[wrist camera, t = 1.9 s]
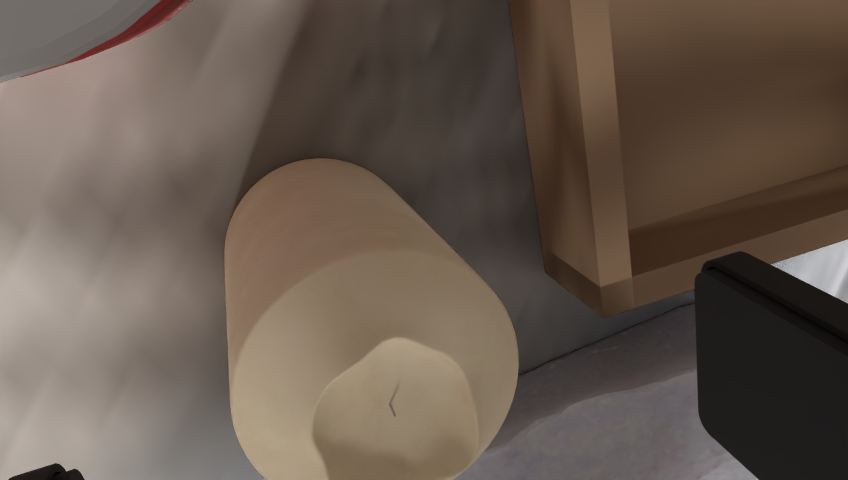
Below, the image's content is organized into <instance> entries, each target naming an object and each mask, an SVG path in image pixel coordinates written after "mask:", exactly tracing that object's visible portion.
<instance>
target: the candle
mask: <svg viewBox="0 0 848 480" xmlns="http://www.w3.org/2000/svg"><path fill="white" fill-rule="evenodd" d="M224 264H225V292H226V316H227V341H228V366H229V390H230V408H231V415H232V421H233V426H234V429H235V432H236V435H237V438H238V441H239V443H240V445H241V447H242V449H243V451H244V453H245V455H246V457H247V458H248V459H249V461H250V462H251V463H252V465H253V466H254V467H255V469H256V470H257V471H258V472H259V473H260V474H261V475H262V476H263V477H264V478H265V479H266V480H453V479H455V478H456V477H457V476H459V475H460V474H461V473H463V472H464V471H465V470H466V469H467V468H469V467H470V466H471V465H472V463H473V462H474V461H476V460H477V459H478V457H479V456H480V455H481V454H482V453H483V452H484V450H485V449H486V448H487V447H488V446H489V444H490V443H491V441H492V440H493V439H494V437H495V436H496V434H497V433H498V431H499V429H500V427H501V426H502V424H503V422H504V420H505V418H506V416H507V414H508V411H509V409H510V406H511V403H512V401H513V397H514V393H515V389H516V385H517V378H518V370H519V353H518V346H517V339H516V335H515V331H514V328H513V325H512V321H511V319H510V317H509V315H508V313H507V311H506V309H505V307H504V305H503V304H502V302H501V301H500V299H499V298H498V296H497V295H496V293H495V292H494V291H493V290H492V289H491V288H490V287H489V286H488V284H487V283H486V282H485V281H484V280H483V279H482V278H481V277H480V276H479V275H478V274H477V273H476V272H475V271H474V270H473V269H472V268H471V267H470V266H469V265H468V264H467V263H466V262H465V261H464V260H463V259H462V258H461V257H460V256H459V255H458V254H457V253H456V252H455V251H454V250H453V249H452V248H451V247H450V246H449V245H448V244H447V243H446V242H445V241H444V240H443V239H442V238H441V237H440V236H439V235H438V234H437V233H436V232H435V231H434V230H433V229H432V228H431V227H430V226H429V225H428V224H427V223H426V222H425V221H424V220H423V219H422V218H421V217H420V216H419V215H418V214H417V213H416V212H415V211H414V210H413V209H412V208H411V207H410V206H409V205H408V204H407V203H406V202H405V201H404V200H403V199H402V198H401V197H400V196H399V195H398V194H397V193H396V192H395V191H394V190H393V189H392V188H391V187H390V186H389V185H387V184H386V183H385V182H384V181H383V180H381V179H380V178H379V177H378V176H377V175H375V174H373V173H372V172H370V171H369V170H367V169H365V168H363V167H360V166H358V165H356V164H353V163H349V162H346V161H342V160H336V159H329V158H314V159H305V160H300V161H296V162H292V163H290V164H287V165H284V166H282V167H279V168H278V169H276V170H274V171H272V172H270V173H269V174H267V175H266V176H264V177H263V178H262V179H260V180H259V181H258V182H257V183H256V184H255V185H254V186H253V187H251V188H250V190H249V191H248V192H247V193H246V194H245V196H244V197H243V198H242V200H241V201H240V203H239V204H238V206H237V208H236V209H235V211H234V213H233V216H232V218H231V220H230V223H229V226H228V230H227V233H226V240H225V252H224Z"/></svg>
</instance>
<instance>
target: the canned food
mask: <svg viewBox="0 0 848 480" xmlns="http://www.w3.org/2000/svg"><path fill="white" fill-rule="evenodd" d="M191 1H193V0H0V83H1V82H4V81H8V80H11V79H14V78H18V77H24V76H27V75H31V74H34V73H37V72H41V71H44V70H48V69H51V68H54V67H58V66H61V65H64V64H68V63H71V62H74V61H78V60H81V59H84V58H86V57H89V56H91V55H94V54H96V53H99V52H101V51H104V50H106V49H109V48H111V47H114V46H116V45H119V44H121V43H124V42H126V41H129V40H131V39H134V38H136V37H139V36H141V35H143V34H145V33H147V32H148V31H150V30H152V29H154V28H156V27H158V26H160V25H161V24H163V23H165V22H167V21H169V20H170V19H171V18H172V17H174V16H175V15H176V14H177V13H178V12H180V11H181V10H182V9H183V8H184V7H186V6H187V5H188V4H189V3H190V2H191Z"/></svg>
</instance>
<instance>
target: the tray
mask: <svg viewBox="0 0 848 480" xmlns="http://www.w3.org/2000/svg"><path fill="white" fill-rule="evenodd" d="M508 2H509V9H510V16H511V24H512V31H513V38H514V46H515V53H516V60H517V68H518V75H519V82H520V90H521V97H522V105H523V112H524V119H525V127H526V134H527V141H528V149H529V156H530V163H531V171H532V178H533V185H534V193H535V200H536V207H537V215H538V222H539V229H540V237H541V244H542V252H543V259H544V266H545V272H546V273H547V274H548V275H549V276H551V277H552V278H553V279H554V280H556V281H557V282H558V283H559V284H561V285H562V286H563V287H565V288H566V289H567V290H568V291H570V292H571V293H572V294H573V295H575V296H576V297H577V298H578V299H580V300H581V301H582V302H584V303H585V304H586V305H587V306H589V307H590V308H591V309H592V310H594V311H595V312H596V313H597V314H599V315H600V316H601V317H602V318H606V317H609V316H612V315H615V314H619V313H622V312H625V311H628V310H631V309H634V308H637V307H640V306H643V305H646V304H649V303H652V302H656V301H659V300H662V299H665V298H668V297H671V296H674V295H677V294H680V293H683V292H686V291H690V290H693V289H695V288H694V283H695V278H696V275H697V274H699V273H701V269H702V266H703V264H704V263H705V262H706V261H709V260H712V259H715V258H718V257H721V256H725V255H728V254H731V253H734V252H739V251H742V252H746V253H748V254H750V255H752V256H754V257H756V258H758V259H760V260H762V261H764V262H766V263H768V264H773V263H776V262H779V261H782V260H785V259H788V258H791V257H794V256H797V255H801V254H804V253H807V252H810V251H813V250H816V249H819V248H822V247H825V246H828V245H831V244H835V243H838V242H841V241H844V240H847V239H848V0H508Z"/></svg>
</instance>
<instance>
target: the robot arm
mask: <svg viewBox="0 0 848 480" xmlns="http://www.w3.org/2000/svg"><path fill="white" fill-rule="evenodd" d="M694 288H695V322H696V355H697V389H698V413H699V417H700V421H701V423H702V425H703V427H704V428H705V430H706V431H707V433H708V434H709V435H710V436H711V437H712V438H713V439H715V440H716V441H717V442H718V443H719V444H720V445H721V446H722V447H723V448H724V449H726V450H727V451H728V452H729V453H730V454H731V455H732V456H733V457H734V458H735V459H737V460H738V461H739V462H740V463H741V464H742V465H743V466H744V467H745V468H746V469H748V470H749V471H750V472H751V473H752V474H753V475H754V476H755V477H756V478H757V479H759V480H848V304H847V303H845V302H844V301H842V300H840V299H838V298H836V297H834V296H832V295H830V294H828V293H826V292H824V291H822V290H820V289H818V288H816V287H814V286H812V285H810V284H808V283H806V282H804V281H802V280H800V279H798V278H796V277H794V276H792V275H790V274H788V273H786V272H784V271H782V270H780V269H778V268H776V267H774V266H772V265H770V264H768V263H766V262H764V261H762V260H760V259H758V258H756V257H754V256H752V255H750V254H748V253H746V252H742V251H739V252H734V253H731V254H728V255H725V256H721V257H718V258H715V259H712V260H709V261H706V262H705V263H704V264H703V266H702V269H701V273H699V274H697V275H696V278H695V283H694ZM9 480H84V478H83V476H82V474H81V473H80V472H79V471H78V470H77V469H73V470H70V471H67V472H66V471H65V469H64V468H63V467H62V466H61V465H60V464H56V463H55V464H52V465H49V466H46V467H43V468H39V469H36V470H33V471H30V472H26V473H23V474H20V475H17V476H14V477H12V478H10V479H9Z"/></svg>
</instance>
